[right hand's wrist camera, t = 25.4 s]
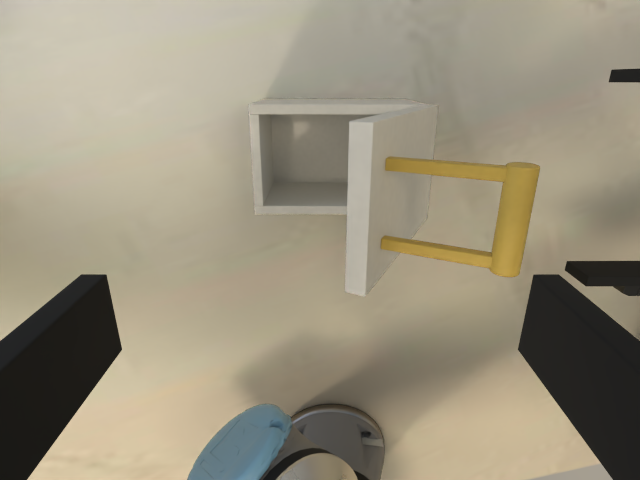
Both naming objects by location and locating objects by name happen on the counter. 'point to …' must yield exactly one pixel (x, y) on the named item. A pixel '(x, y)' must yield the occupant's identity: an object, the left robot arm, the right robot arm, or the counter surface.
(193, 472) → the left robot arm
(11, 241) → the counter surface
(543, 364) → the right robot arm
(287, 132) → the chest
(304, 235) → the counter surface
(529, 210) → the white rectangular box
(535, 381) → the counter surface
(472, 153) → the counter surface
